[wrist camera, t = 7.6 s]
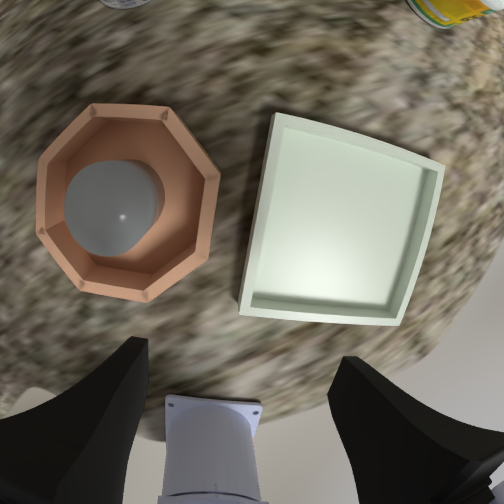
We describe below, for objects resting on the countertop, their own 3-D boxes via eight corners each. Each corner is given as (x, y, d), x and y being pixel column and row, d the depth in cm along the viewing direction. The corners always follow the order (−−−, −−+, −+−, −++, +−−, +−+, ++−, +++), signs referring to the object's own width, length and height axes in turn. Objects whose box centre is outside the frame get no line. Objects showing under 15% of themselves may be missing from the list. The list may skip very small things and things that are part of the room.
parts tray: (390, 316, 21) (399, 325, 20) (237, 303, 20) (238, 314, 18) (432, 164, 18) (445, 165, 17) (271, 115, 16) (276, 112, 15)
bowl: (204, 287, 19) (201, 310, 16) (60, 264, 18) (39, 281, 15) (230, 121, 16) (231, 114, 13) (69, 110, 15) (46, 104, 12)
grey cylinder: (161, 239, 17) (145, 262, 14) (93, 230, 17) (64, 249, 13) (169, 162, 16) (154, 165, 12) (98, 156, 15) (66, 159, 12)
